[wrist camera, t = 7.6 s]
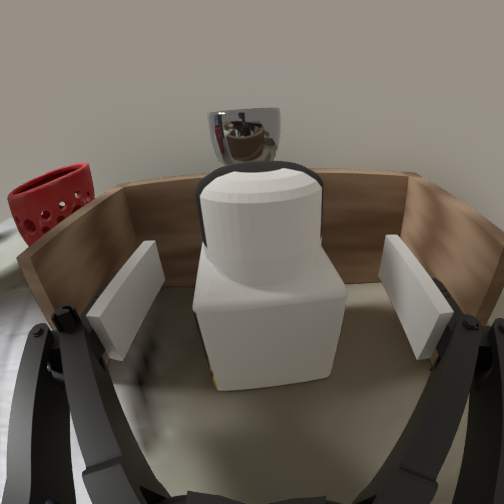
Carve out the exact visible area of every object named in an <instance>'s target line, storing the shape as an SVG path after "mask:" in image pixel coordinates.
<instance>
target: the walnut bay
mask: <svg viewBox="0 0 504 504" xmlns="http://www.w3.org/2000/svg"><path fill="white" fill-rule="evenodd" d="M308 169H310V170H312V171H314V172H316V173H317V174H318V176H319V177H320V178H321V179H322V181H323V183H324V189H323V220H322V240H321V246H322V248H323V250H324V251H325V253H326V254H327V256H328V258H329V259H330V261H331V262H332V264H333V266H334V267H335V269H336V271H337V272H338V274H339V276H340V277H341V279H342V281H343V282H344V284H350V283H370V282H381V280H380V278H379V277H378V274H379V269H380V264H381V259H382V254H383V248H384V242H385V236H386V235H398V236H399V237H400V239H401V240H402V241H403V242H404V243H405V245H406V246H407V247H408V248H409V250H410V251H411V252H412V254H413V255H414V256H415V257H416V259H417V260H418V261H419V263H420V264H421V265H422V267H423V268H424V269H425V271H426V272H427V273H428V275H429V276H430V277H431V278H436V279H438V280H439V281H440V282H442V283H443V284H444V286H445V287H446V289H447V290H448V291H449V293H450V294H451V297H453V298H454V300H455V301H456V303H457V304H458V306H459V307H460V309H461V310H462V312H463V313H464V314H468V315H472V316H473V317H475V318H476V319H477V320H478V321H479V322H480V324H481V325H482V326H485V325H486V323H487V321H488V319H489V317H490V315H491V313H492V311H493V309H494V307H495V305H496V302H497V301H498V298H499V296H500V294H501V292H502V290H503V287H504V232H503V231H502V230H501V229H499V228H498V227H497V226H495V225H494V224H493V223H492V222H490V221H489V220H488V219H486V218H485V217H484V216H482V215H481V214H479V213H478V212H477V211H475V210H474V209H472V208H471V207H469V206H468V205H467V204H465V203H463V202H462V201H460V200H459V199H458V198H456V197H455V196H453V195H451V194H450V193H448V192H447V191H445V190H443V189H442V188H440V187H439V186H437V185H435V184H434V183H432V182H430V181H429V180H427V179H425V178H423V177H421V176H420V175H418V174H416V173H410V172H398V171H381V170H364V169H327V168H324V169H322V168H319V169H318V168H316V169H314V168H308ZM208 174H210V173H201V174H191V175H181V176H172V177H164V178H156V179H149V180H141V181H134V182H128V183H122V184H118V185H116V186H114V187H113V188H111V189H109V190H108V191H107V192H104V193H103V194H101V195H100V196H98V197H97V198H95V199H94V200H92V201H91V202H89V203H87V204H86V205H84V206H83V207H82V208H80V209H79V210H77V211H76V212H74V213H73V214H71V215H70V216H69V217H67V218H66V219H64V220H63V221H62V222H60V223H59V224H58V225H56V226H55V227H54V228H52V229H51V230H50V231H48V232H47V233H46V234H44V235H43V236H42V237H41V238H39V239H38V240H37V241H36V242H34V243H33V244H32V245H31V246H29V247H28V248H27V249H26V250H25V251H23V252H22V253H21V254H20V255H19V256H18V257H16V258H17V261H18V263H19V266H20V268H21V270H22V272H23V275H24V277H25V279H26V281H27V283H28V285H29V287H30V289H31V291H32V293H33V295H34V297H35V299H36V301H37V303H38V305H39V307H40V309H41V311H42V312H43V314H44V316H45V318H46V319H47V321H48V323H49V325H50V326H51V328H52V330H53V331H54V330H57V328H56V326H55V325H54V323H53V321H52V320H51V316H52V314H53V312H54V311H55V310H56V309H57V308H59V307H61V306H62V305H66V304H71V305H73V306H74V307H75V309H76V311H77V313H78V315H79V316H80V315H81V313H82V312H83V311H84V309H85V308H86V307H87V305H88V304H89V303H90V302H91V300H92V299H93V297H95V295H96V293H97V292H98V291H99V290H100V289H101V288H102V287H103V286H105V285H106V284H109V283H110V282H111V281H112V280H113V278H114V277H115V276H116V274H117V273H118V272H119V271H120V269H121V268H122V267H123V266H124V264H125V263H126V262H127V261H128V259H129V258H130V257H131V256H132V255H133V253H134V252H135V251H136V250H137V249H138V247H139V246H140V245H141V244H142V243H143V241H153V240H155V242H156V246H157V250H158V254H159V258H160V262H161V265H162V269H163V273H164V276H165V281H164V283H163V285H162V286H173V287H195V286H196V279H197V273H198V267H199V260H200V254H201V248H202V243H203V240H202V234H201V227H200V221H199V215H198V208H197V201H196V194H195V189H196V187H197V185H198V183H199V182H200V180H201V179H202V178H204V177H205V176H207V175H208ZM102 357H103V358H104V360H105V362H106V365H107V364H108V362H109V360H110V357H109V356H108V354H107V352H106V351H105V352H104V354H103V356H102ZM437 357H438V353H437V350H436V349H435V351H434V352H433V354H432V356H431V358H429V359H430V362H431V364H432V365H433V364H434V362H435V360H436V358H437Z"/></svg>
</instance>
